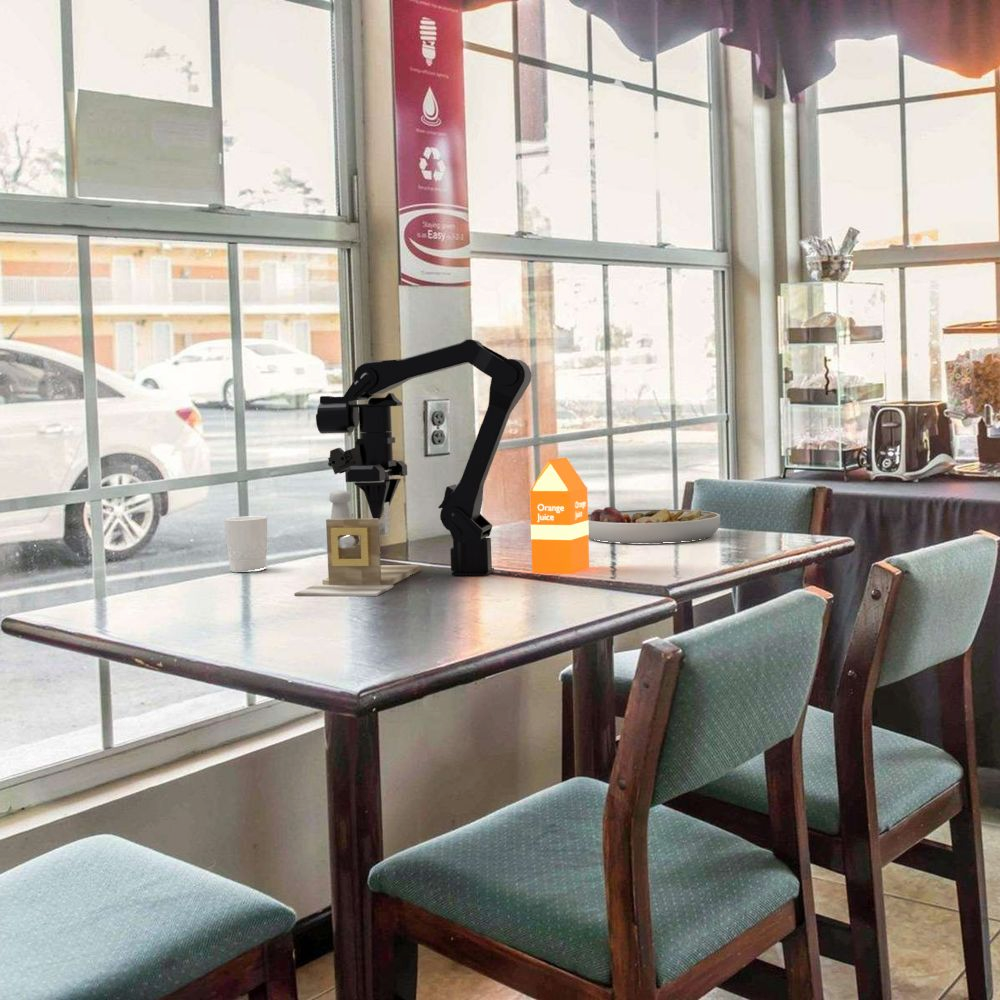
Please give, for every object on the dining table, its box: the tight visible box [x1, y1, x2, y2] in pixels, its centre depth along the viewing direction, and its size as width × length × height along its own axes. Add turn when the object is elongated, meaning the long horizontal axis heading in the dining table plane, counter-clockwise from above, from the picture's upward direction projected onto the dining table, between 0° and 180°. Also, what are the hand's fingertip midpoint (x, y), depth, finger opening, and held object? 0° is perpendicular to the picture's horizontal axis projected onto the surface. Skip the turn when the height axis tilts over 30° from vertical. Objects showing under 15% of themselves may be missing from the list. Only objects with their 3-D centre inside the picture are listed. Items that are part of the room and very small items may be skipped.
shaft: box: [338, 502, 391, 549], centre depth 223 cm, size 21×3×6 cm, turn 168°
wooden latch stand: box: [293, 518, 421, 597], centre depth 222 cm, size 29×14×12 cm, turn 168°
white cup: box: [224, 515, 268, 574], centre depth 243 cm, size 8×8×10 cm
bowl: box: [588, 506, 721, 543], centre depth 277 cm, size 30×30×8 cm
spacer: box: [331, 527, 371, 566], centre depth 217 cm, size 2×6×6 cm, turn 78°
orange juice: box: [529, 456, 590, 575], centre depth 230 cm, size 8×9×20 cm
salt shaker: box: [328, 489, 355, 548], centre depth 265 cm, size 6×6×13 cm
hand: (379, 519), depth 232 cm, fingers closed on shaft, 3 cm apart
